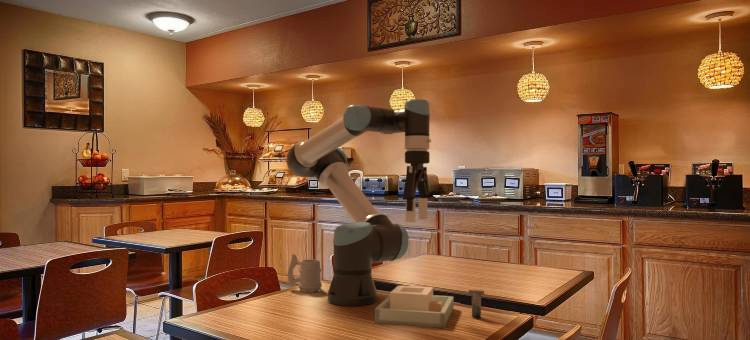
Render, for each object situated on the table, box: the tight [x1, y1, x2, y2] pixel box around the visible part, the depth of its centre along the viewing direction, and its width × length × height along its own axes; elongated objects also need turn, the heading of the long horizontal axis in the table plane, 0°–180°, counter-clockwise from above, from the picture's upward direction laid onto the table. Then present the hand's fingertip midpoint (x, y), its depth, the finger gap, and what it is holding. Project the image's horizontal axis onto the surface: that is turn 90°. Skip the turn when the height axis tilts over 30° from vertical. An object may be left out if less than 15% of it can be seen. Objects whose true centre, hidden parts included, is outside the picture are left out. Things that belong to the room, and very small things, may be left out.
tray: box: [374, 294, 455, 329], centre depth 143 cm, size 18×20×4 cm
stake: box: [468, 289, 485, 319], centre depth 140 cm, size 4×2×7 cm, turn 75°
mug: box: [287, 253, 323, 293], centre depth 175 cm, size 8×12×12 cm, turn 80°
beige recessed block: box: [389, 285, 442, 312], centre depth 143 cm, size 13×10×6 cm
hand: (417, 220), depth 159 cm, fingers open, 13 cm apart
